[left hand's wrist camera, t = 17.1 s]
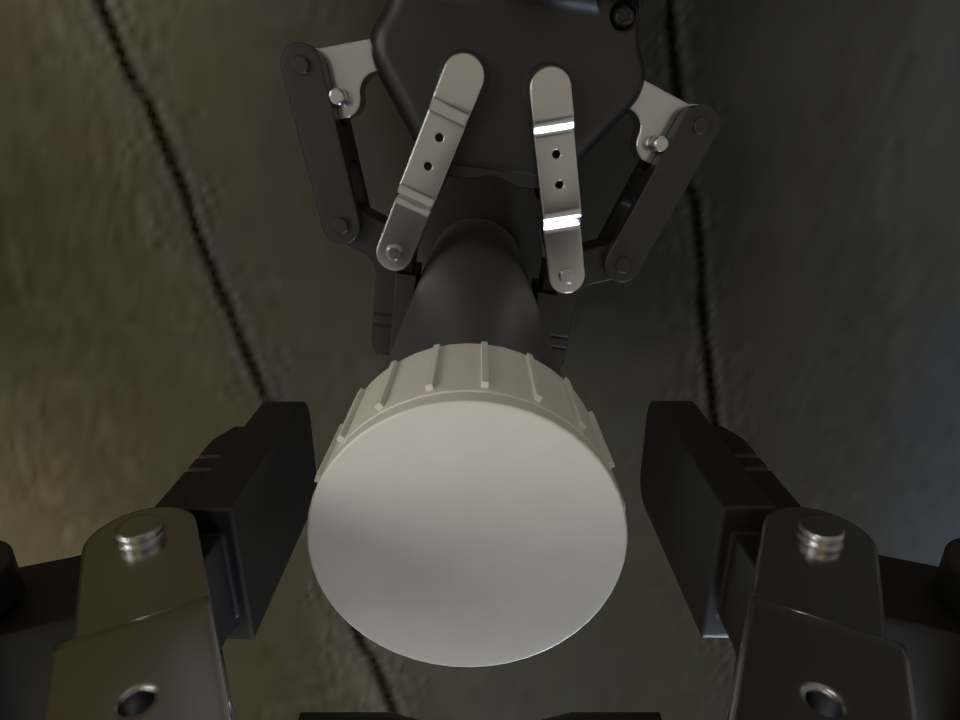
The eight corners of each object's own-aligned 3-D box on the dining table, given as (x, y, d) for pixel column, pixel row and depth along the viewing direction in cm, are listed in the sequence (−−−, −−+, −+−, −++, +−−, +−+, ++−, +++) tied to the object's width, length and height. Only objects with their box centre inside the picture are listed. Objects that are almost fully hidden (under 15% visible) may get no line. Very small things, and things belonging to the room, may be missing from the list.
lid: (592, 320, 10) (624, 373, 8) (610, 555, 12) (641, 654, 10) (309, 357, 10) (264, 420, 8) (367, 583, 12) (342, 686, 10)
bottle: (515, 311, 29) (581, 636, 10) (427, 303, 28) (332, 618, 10) (525, 221, 27) (624, 414, 9) (432, 213, 27) (333, 390, 9)
